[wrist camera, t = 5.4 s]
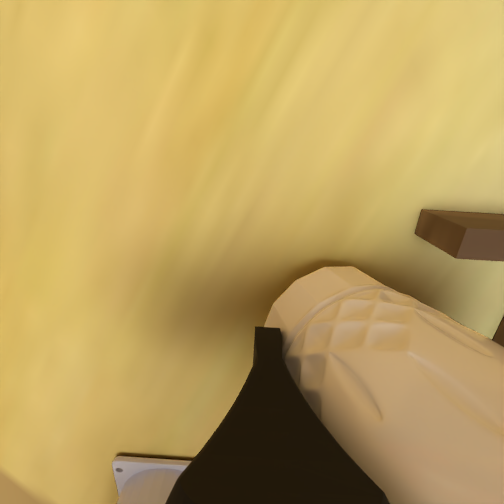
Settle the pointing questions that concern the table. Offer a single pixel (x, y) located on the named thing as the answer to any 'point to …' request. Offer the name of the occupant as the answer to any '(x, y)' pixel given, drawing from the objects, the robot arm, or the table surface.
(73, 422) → the table surface
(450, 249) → the holder
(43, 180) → the table surface
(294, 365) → the beige tapered cylinder
